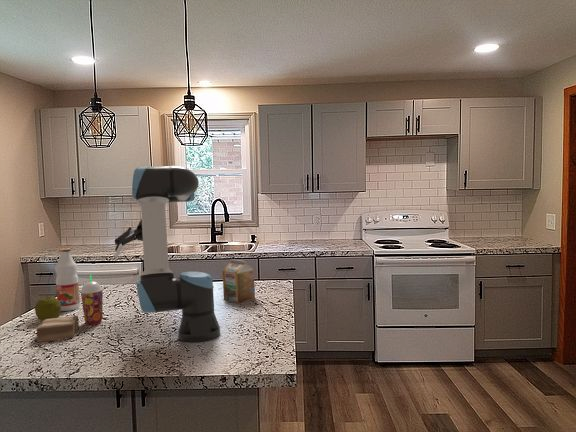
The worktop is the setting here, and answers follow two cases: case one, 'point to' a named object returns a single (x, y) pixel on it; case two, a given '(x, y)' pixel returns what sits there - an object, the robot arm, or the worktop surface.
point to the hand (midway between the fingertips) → (131, 260)
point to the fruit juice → (67, 281)
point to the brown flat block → (57, 328)
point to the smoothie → (92, 302)
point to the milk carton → (238, 282)
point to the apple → (48, 308)
